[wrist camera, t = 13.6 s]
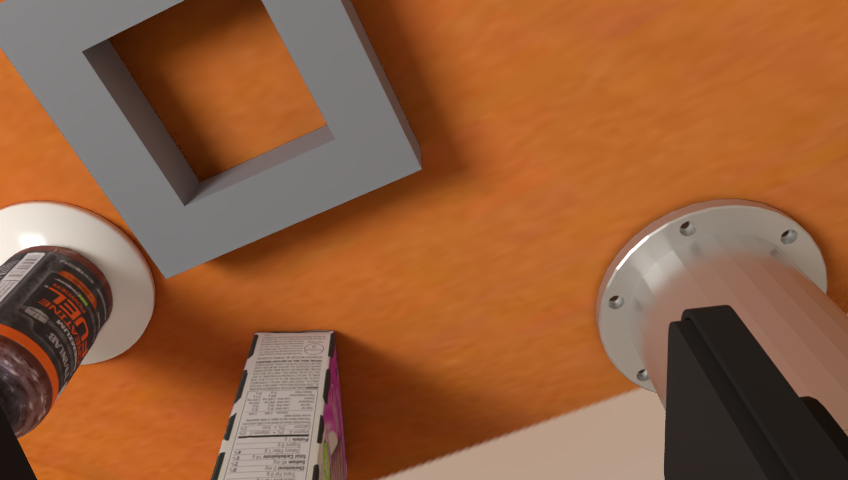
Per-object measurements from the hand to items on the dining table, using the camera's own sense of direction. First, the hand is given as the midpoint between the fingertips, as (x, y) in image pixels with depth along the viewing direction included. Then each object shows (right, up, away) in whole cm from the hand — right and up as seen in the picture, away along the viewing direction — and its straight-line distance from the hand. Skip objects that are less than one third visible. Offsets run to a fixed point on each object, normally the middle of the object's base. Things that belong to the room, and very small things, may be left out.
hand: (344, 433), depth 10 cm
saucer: (-19, 0, +29) cm, 35 cm away
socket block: (-8, +10, +24) cm, 28 cm away
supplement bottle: (-18, 0, +29) cm, 34 cm away
